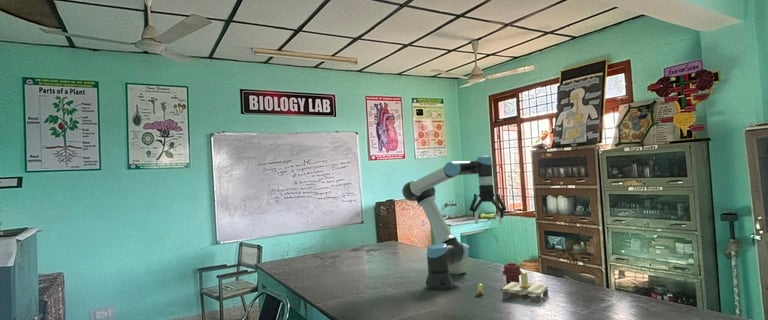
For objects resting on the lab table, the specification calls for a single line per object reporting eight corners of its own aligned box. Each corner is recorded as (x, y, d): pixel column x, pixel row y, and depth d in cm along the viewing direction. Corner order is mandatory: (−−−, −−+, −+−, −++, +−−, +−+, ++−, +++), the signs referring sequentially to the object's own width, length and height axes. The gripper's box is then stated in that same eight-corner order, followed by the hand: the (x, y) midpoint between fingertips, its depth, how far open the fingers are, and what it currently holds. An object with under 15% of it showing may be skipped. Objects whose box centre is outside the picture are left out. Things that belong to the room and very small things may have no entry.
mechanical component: (521, 283, 235) (523, 288, 226) (502, 283, 237) (504, 288, 228) (520, 261, 236) (522, 265, 226) (501, 261, 238) (502, 265, 228)
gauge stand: (503, 298, 210) (502, 288, 210) (512, 291, 222) (511, 281, 222) (540, 303, 200) (539, 292, 200) (548, 295, 211) (547, 285, 211)
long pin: (521, 297, 210) (520, 273, 211) (523, 295, 213) (521, 271, 213) (527, 298, 209) (526, 273, 209) (529, 296, 211) (527, 272, 212)
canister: (439, 270, 278) (437, 238, 278) (466, 268, 280) (463, 236, 280) (446, 277, 260) (443, 242, 260) (474, 274, 262) (472, 240, 262)
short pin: (476, 294, 220) (476, 284, 220) (478, 293, 222) (478, 283, 222) (482, 295, 218) (481, 285, 218) (484, 293, 221) (483, 284, 221)
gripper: (461, 185, 235) (464, 224, 234) (506, 184, 220) (508, 225, 220) (467, 184, 241) (469, 222, 240) (511, 183, 227) (513, 223, 226)
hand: (488, 223), depth 230 cm, fingers open, 13 cm apart
